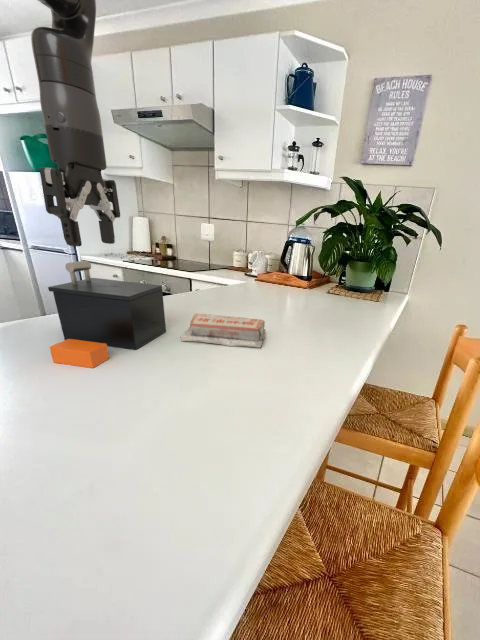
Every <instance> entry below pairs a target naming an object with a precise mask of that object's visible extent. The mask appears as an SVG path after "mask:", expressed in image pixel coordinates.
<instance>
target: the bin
mask: <svg viewBox="0 0 480 640" xmlns="http://www.w3.org/2000/svg"><path fill="white" fill-rule="evenodd" d="M52 293H53V298H54V302H55V305H56V306H55V307H56V310H57V314H58V319H59V322H60V326H61V331H62V335H63V338H64V340H67V339H75V340H82V341H90V342H98V343H105V344H107V347H110V348H111V347H112V348H118V349H127V350H133V351H137V350H139V349H140V348H142V347H143V346H145V345H147V344H149V343H151V342H152V341H154V340H156V339H158V338H159V337H160V336H162V335H163V334H165V333H166V332H167V324H166V315H165V305H164V303H165V302H164V294H163V293H164V292H163V288H162V289H161V290H158V291H156V292H153V293H150V294H147V295H144V296H141V297H139V298H136V299H133V300H130V301H127V300H118V299H110V298H102V297H93V296H85V295H76V294H68V293H60V292H52Z"/></svg>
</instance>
